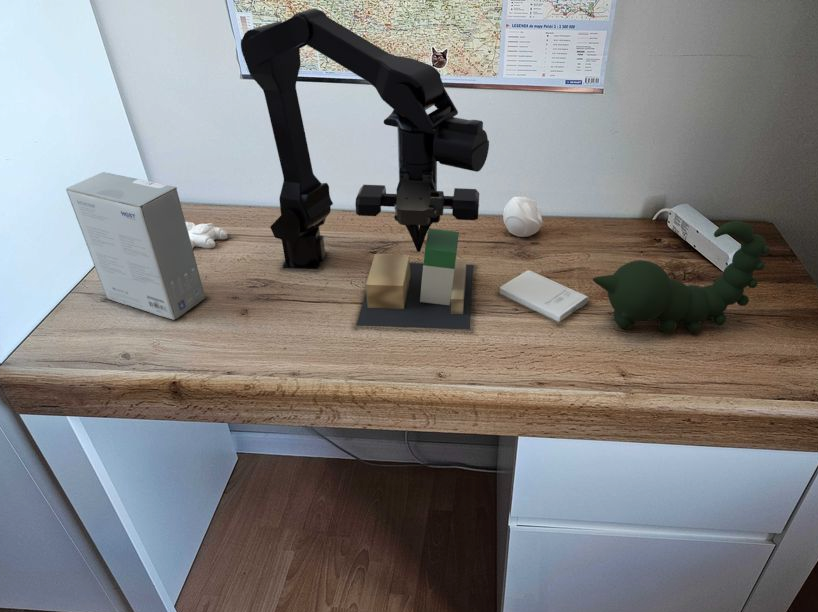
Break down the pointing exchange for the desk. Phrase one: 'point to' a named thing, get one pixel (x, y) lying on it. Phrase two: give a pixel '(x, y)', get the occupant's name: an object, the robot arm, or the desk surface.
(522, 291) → the hard drive
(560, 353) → the desk surface
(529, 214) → the white ball
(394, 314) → the desk mat
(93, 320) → the desk surface
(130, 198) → the hard drive box
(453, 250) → the block
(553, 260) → the desk surface
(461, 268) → the ash rail
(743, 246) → the toy figurine
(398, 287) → the birch block
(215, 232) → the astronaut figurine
